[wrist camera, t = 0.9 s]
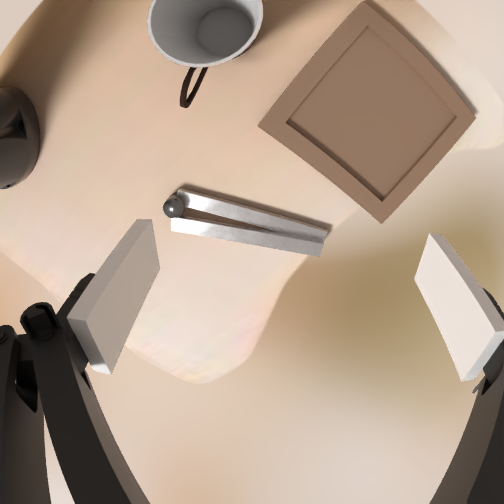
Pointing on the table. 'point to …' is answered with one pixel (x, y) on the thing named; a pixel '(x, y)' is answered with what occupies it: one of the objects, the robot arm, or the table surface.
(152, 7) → the coffee mug
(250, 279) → the table surface
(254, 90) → the table surface
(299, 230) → the tongs
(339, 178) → the tray
